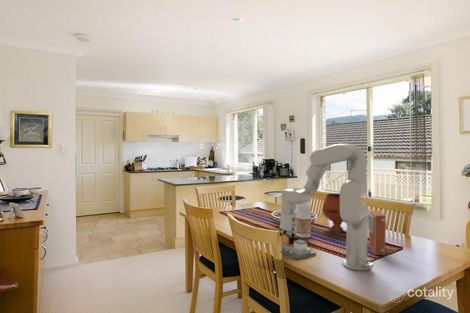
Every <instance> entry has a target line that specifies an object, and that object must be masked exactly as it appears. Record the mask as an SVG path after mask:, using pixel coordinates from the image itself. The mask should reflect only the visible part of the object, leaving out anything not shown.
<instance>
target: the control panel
mask: <svg viewBox="0 0 470 313" xmlns="http://www.w3.org/2000/svg"><path fill="white" fill-rule="evenodd" d="M386 229H387V220H386V215H385V214H384V213H383V212H381V211H380V210H376V209H375V210H371V209H369V220H368V233H369V234H368V235H369V237H368V239H369V240H368V247H369V249H370V250H371V252H372V253H373V255H379V256H381V255H382V256H385V255H386Z"/></svg>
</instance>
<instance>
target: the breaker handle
mask: <svg viewBox="0 0 470 313" xmlns="http://www.w3.org/2000/svg"><path fill="white" fill-rule="evenodd" d="M307 247H308V242H307V241H306V240H304V239H302V238H301V239H297V240H295V239H294V248H295V249H297V250H299V251H301V250H305V249H307Z"/></svg>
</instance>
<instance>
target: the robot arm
mask: <svg viewBox="0 0 470 313" xmlns="http://www.w3.org/2000/svg"><path fill="white" fill-rule="evenodd" d="M309 161H310V165H309V166H308V168H307V170H305V171H306V172H305V174H306V176H307V181H306V183H305V185H304V186H303V188H301V189H296V190H295V189H293V188H283V189H282V190H281V194H280V195H281V208H280V209H281V212H280V222H279V223H280V224H279V226H278V227H279V229H280V231H281V240H282V239H283V233H288V232H289V234H290V237H289V244H294V241H295V237H296V236H297V235H296V234H297V233H298V232H297V219H296V205H297V204H302V203H305V202H309V201H311V200H312V199H313V197H314V196H315V195H316V193H317V191H318V190H319V186H320V185H321V184H320V183H321V179H322V178H323V176H324V175H325V174H326V172H327V170H328V169H329V167H330V166H331V165H333V164H336V163H341V162H347V163H348V167H347V180H346V181H345V182H343V183H342V184H341V186H340V189H339V194H340V216H341V218H342V220H343V221H344V223H345V224H346V232H345V234H346V238H345V242H346V243H345V246H346V248H345V250H346V251H345V254H346V255H345V259H344V260H342V265H343V266H344V267H345V268H347V269H349V270H353V271H369V270H372V269H373V268H374V263H372V262H370V258H369V257H368V235H369V234H368V233H369V229H368V222H369V212H370V208H369V207H368V205H367V204H366V203H365V202H363V201H361V199H362V198H364V197H365V196H366V194H367V191H368V185H367V183H368V181H367V180H368V177H367V174H368V173H367V157H366V155H365V153H364V151H363V150H362V149H361V148H360V147H358V146H356V145H355V144H352V143H337V144H333V145H330V146H326V147H323V148H319V149H315V150H313V151H312V152H311V154H310V156H309ZM291 233H292V234H291Z"/></svg>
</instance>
